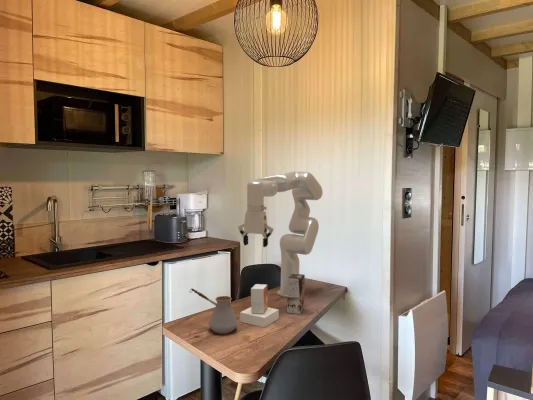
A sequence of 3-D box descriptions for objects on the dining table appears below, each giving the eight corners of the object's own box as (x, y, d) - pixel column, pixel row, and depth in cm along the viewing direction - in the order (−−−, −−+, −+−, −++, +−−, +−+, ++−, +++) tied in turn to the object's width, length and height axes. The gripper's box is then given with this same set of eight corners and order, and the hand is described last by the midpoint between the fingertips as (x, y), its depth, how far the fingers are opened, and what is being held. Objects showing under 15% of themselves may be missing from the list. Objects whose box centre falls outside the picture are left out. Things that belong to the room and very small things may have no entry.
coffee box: (300, 314, 179) (301, 279, 178) (286, 312, 180) (287, 277, 179) (304, 308, 188) (305, 274, 186) (290, 306, 189) (291, 273, 188)
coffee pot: (242, 327, 162) (243, 291, 161) (229, 337, 152) (229, 299, 151) (197, 319, 170) (197, 284, 169) (181, 328, 160) (182, 291, 159)
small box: (264, 314, 166) (263, 289, 165) (251, 313, 167) (250, 288, 167) (268, 308, 174) (267, 284, 173) (255, 307, 175) (255, 283, 174)
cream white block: (254, 314, 179) (255, 304, 179) (278, 319, 173) (278, 309, 173) (240, 322, 169) (240, 312, 168) (264, 328, 163) (264, 317, 162)
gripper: (276, 208, 181) (276, 245, 182) (242, 206, 188) (242, 242, 189) (269, 210, 174) (269, 249, 176) (234, 208, 181) (234, 245, 182)
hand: (255, 245), depth 182 cm, fingers open, 9 cm apart
